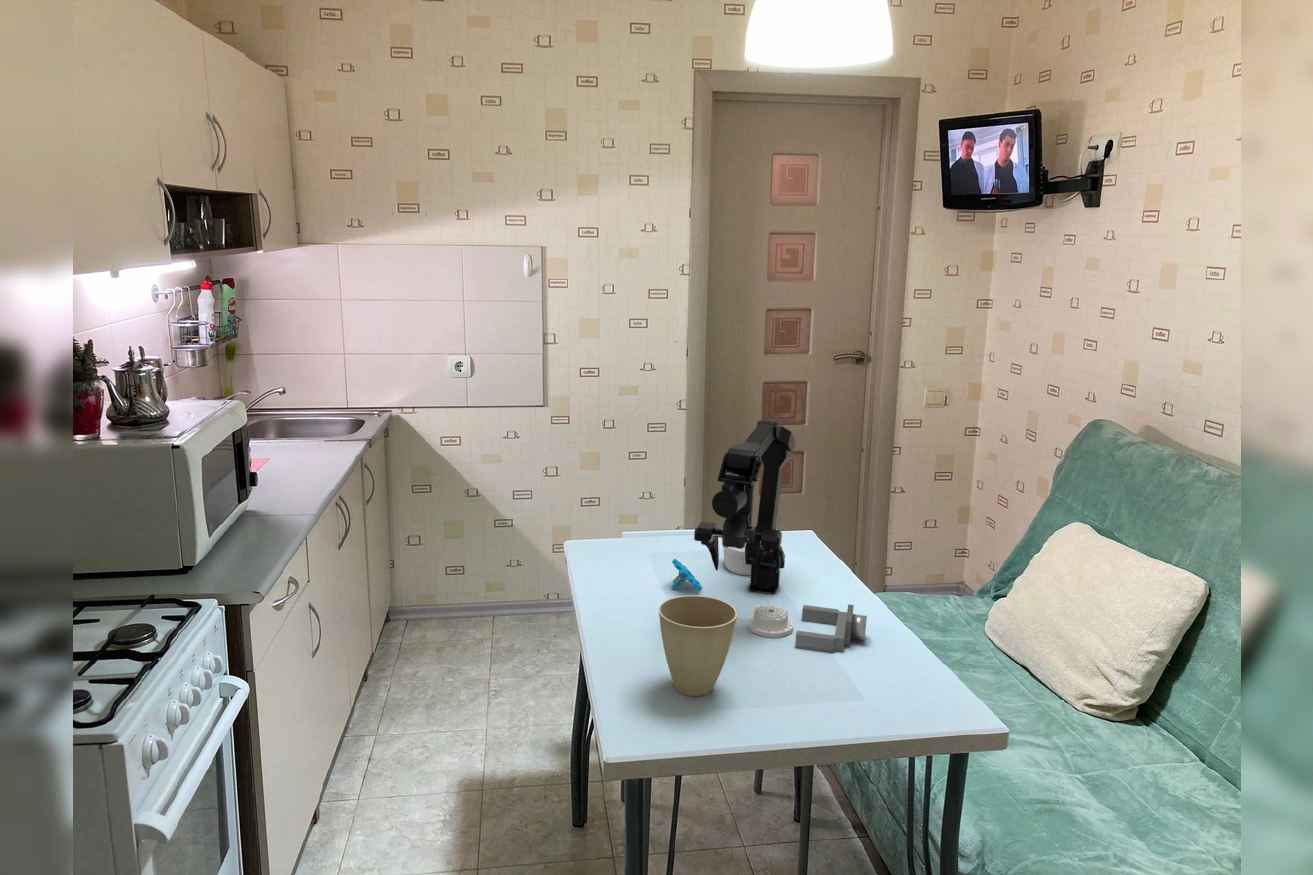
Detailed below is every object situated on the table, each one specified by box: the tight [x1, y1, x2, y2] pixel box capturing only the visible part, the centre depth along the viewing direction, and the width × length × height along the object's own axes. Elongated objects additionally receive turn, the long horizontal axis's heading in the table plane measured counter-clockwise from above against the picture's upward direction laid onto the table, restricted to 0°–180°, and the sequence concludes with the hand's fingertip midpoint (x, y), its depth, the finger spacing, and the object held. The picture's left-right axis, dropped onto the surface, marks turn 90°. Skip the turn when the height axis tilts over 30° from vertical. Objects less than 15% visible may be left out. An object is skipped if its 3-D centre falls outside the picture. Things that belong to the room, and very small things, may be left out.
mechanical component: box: [747, 604, 794, 639], centre depth 204 cm, size 10×4×10 cm
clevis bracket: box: [794, 604, 868, 653], centre depth 200 cm, size 14×16×6 cm
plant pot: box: [658, 595, 738, 697], centre depth 176 cm, size 15×15×16 cm
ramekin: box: [722, 543, 751, 577], centre depth 238 cm, size 13×13×7 cm
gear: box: [671, 558, 703, 592], centre depth 224 cm, size 11×6×10 cm
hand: (736, 572), depth 203 cm, fingers open, 8 cm apart
